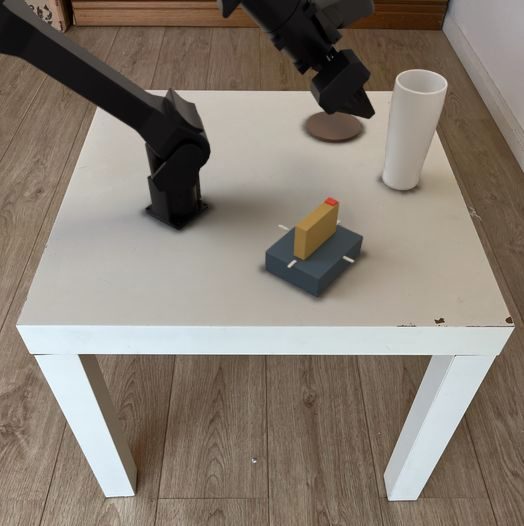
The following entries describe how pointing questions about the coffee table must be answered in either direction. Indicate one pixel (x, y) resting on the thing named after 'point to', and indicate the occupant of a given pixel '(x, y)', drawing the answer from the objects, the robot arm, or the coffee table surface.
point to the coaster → (333, 127)
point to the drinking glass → (412, 125)
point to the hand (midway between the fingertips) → (359, 97)
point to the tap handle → (316, 228)
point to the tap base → (313, 259)
